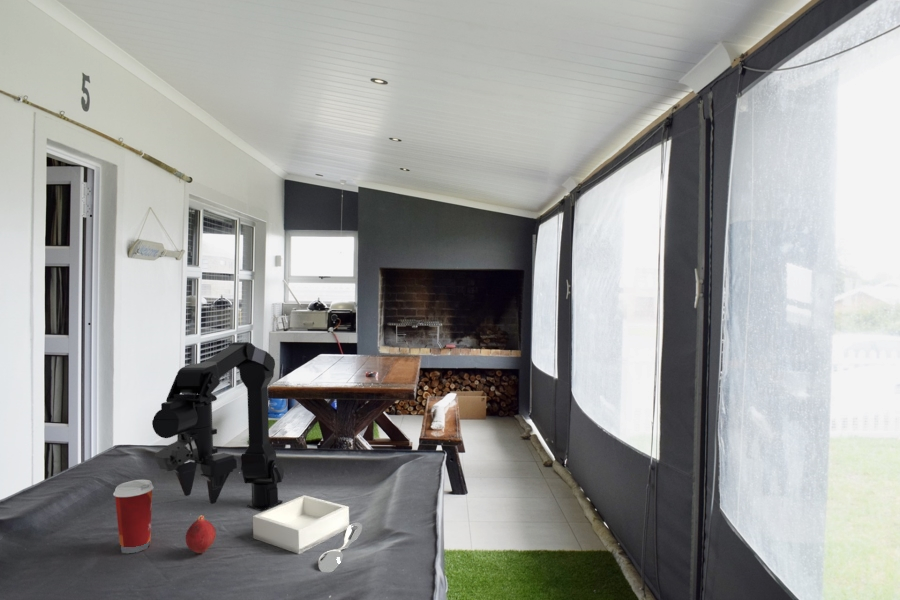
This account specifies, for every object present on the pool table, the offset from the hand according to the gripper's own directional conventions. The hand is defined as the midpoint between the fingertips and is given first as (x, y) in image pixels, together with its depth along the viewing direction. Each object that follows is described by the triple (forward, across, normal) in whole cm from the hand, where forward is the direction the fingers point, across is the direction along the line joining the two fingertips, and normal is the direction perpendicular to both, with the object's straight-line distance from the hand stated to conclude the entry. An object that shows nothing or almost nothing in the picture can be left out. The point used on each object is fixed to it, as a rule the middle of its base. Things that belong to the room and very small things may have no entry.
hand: (200, 499), depth 119 cm
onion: (+12, 0, 0) cm, 12 cm away
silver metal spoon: (+12, +25, +17) cm, 32 cm away
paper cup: (+12, -15, -6) cm, 20 cm away
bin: (+12, +11, +18) cm, 24 cm away
